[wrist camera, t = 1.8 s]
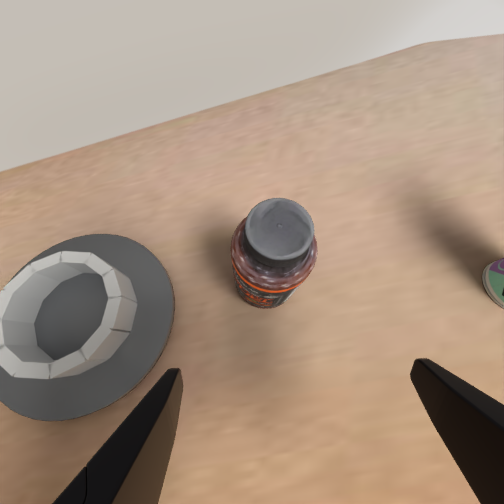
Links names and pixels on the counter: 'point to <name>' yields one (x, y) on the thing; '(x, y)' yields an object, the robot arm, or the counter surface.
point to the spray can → (495, 281)
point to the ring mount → (82, 326)
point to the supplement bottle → (273, 252)
